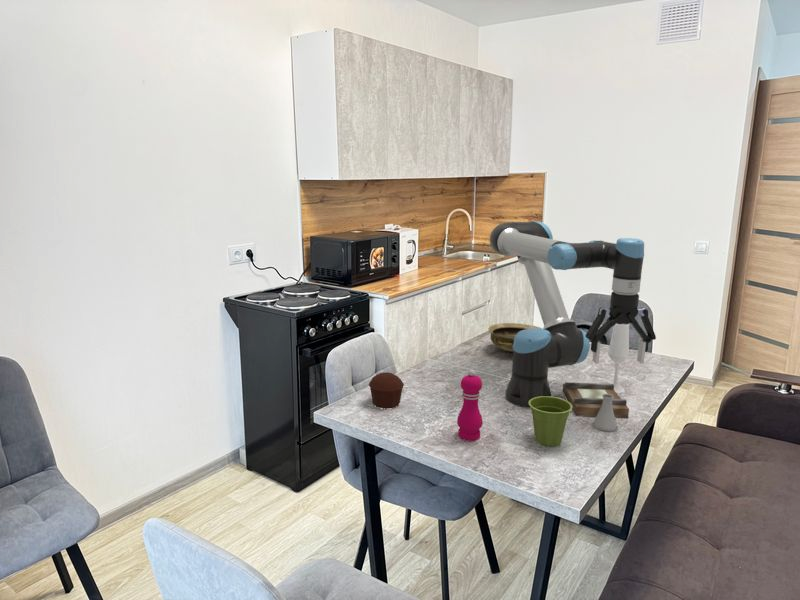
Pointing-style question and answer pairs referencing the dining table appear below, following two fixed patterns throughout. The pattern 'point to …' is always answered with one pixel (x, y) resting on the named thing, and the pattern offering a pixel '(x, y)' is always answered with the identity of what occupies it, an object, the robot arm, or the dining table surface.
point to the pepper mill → (470, 408)
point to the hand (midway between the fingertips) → (617, 362)
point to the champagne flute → (619, 350)
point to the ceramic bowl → (507, 334)
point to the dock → (593, 399)
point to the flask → (606, 415)
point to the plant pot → (549, 419)
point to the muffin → (386, 390)
